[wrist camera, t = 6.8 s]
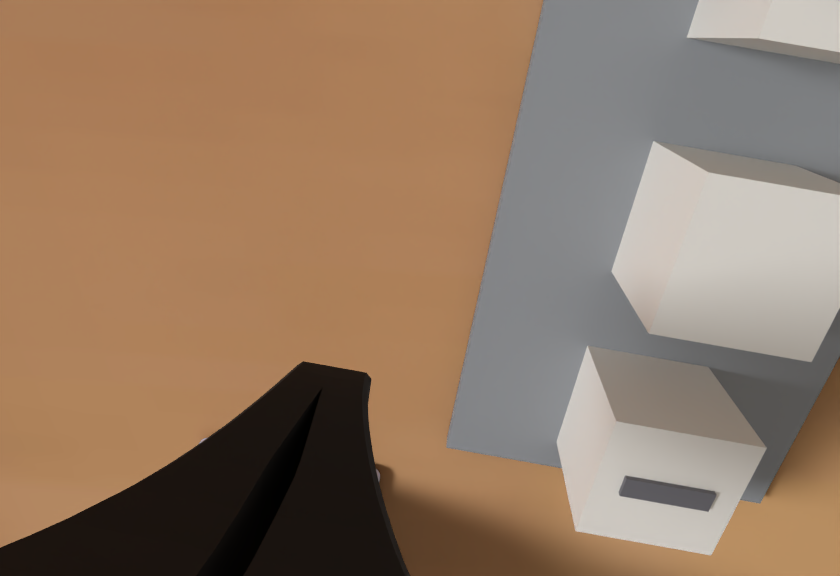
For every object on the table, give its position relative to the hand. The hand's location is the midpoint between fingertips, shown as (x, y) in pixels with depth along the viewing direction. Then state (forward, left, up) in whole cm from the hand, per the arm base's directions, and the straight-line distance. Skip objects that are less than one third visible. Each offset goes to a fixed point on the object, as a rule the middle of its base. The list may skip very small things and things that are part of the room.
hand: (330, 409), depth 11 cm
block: (-5, -10, -10) cm, 15 cm away
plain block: (+3, -10, -10) cm, 14 cm away
